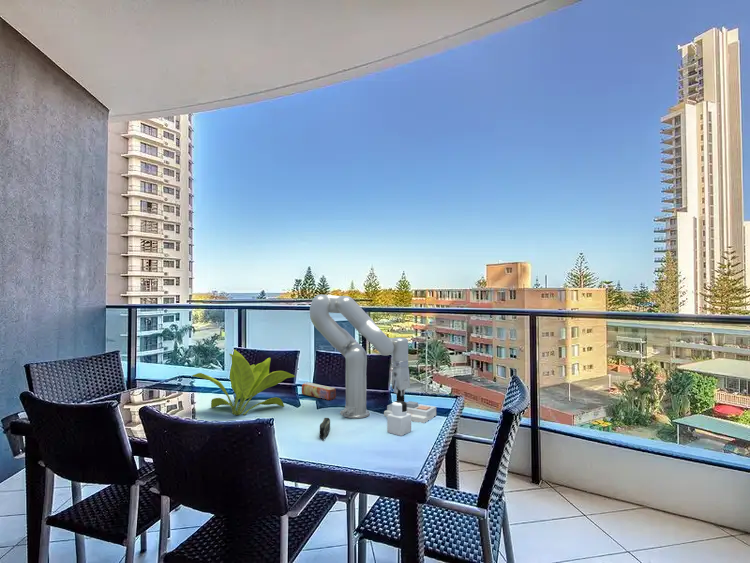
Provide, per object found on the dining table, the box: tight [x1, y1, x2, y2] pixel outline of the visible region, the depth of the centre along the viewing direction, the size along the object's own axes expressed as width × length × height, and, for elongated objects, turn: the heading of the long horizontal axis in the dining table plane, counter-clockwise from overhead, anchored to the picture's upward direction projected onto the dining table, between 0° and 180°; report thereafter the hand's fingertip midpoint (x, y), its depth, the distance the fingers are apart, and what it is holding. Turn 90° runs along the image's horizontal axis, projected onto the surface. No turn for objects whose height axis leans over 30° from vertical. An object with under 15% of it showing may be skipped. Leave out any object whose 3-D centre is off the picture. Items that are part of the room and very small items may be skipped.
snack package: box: [301, 381, 337, 401], centre depth 219 cm, size 21×7×7 cm, turn 53°
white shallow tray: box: [383, 401, 437, 424], centre depth 185 cm, size 13×20×4 cm, turn 58°
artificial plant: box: [191, 349, 296, 416], centre depth 191 cm, size 42×43×30 cm
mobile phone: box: [319, 417, 331, 441], centre depth 160 cm, size 5×3×15 cm
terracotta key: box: [417, 406, 430, 410], centre depth 183 cm, size 4×4×2 cm
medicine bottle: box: [386, 400, 412, 437], centre depth 163 cm, size 7×7×12 cm
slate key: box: [406, 400, 419, 408], centre depth 186 cm, size 4×4×2 cm
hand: (400, 403), depth 189 cm, fingers closed
